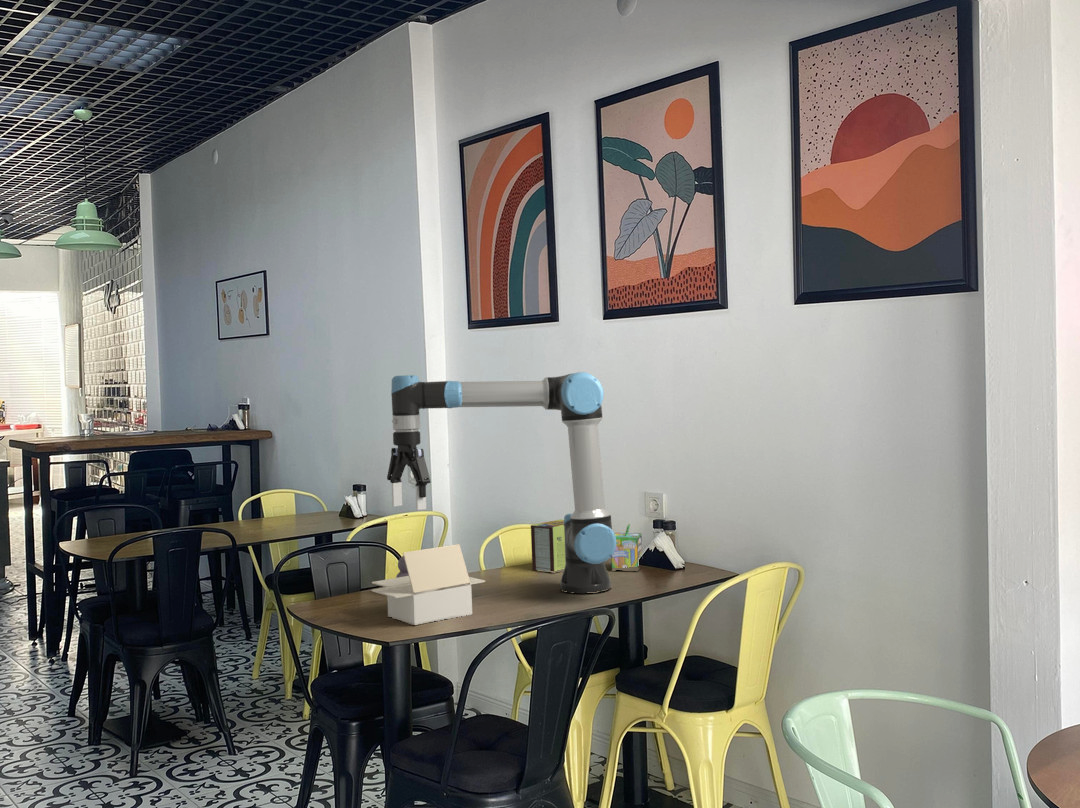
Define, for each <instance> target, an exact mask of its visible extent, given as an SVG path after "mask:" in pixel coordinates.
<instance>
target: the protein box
mask: <svg viewBox="0 0 1080 808" xmlns="http://www.w3.org/2000/svg"><path fill="white" fill-rule="evenodd" d="M563 524H564V519H556V520H550V521H545V522H539V523H534V524H531V525H530V536H531V538H530V540H531V541H530V542H531V543H530V545H531V564H532V571H533V570H543V571H557V570H561V569H564V568H565V534H564V525H563Z"/></svg>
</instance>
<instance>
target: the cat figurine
mask: <svg viewBox="0 0 1080 808" xmlns="http://www.w3.org/2000/svg"><path fill="white" fill-rule="evenodd" d="M397 568H398V570H399V572H398V573H397V574H396V577H395V578H399V577H404V576H409V575H408V571H407V567H406V563H405V559H404V556H401V557H400V558H399V560H398V562H397Z"/></svg>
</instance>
